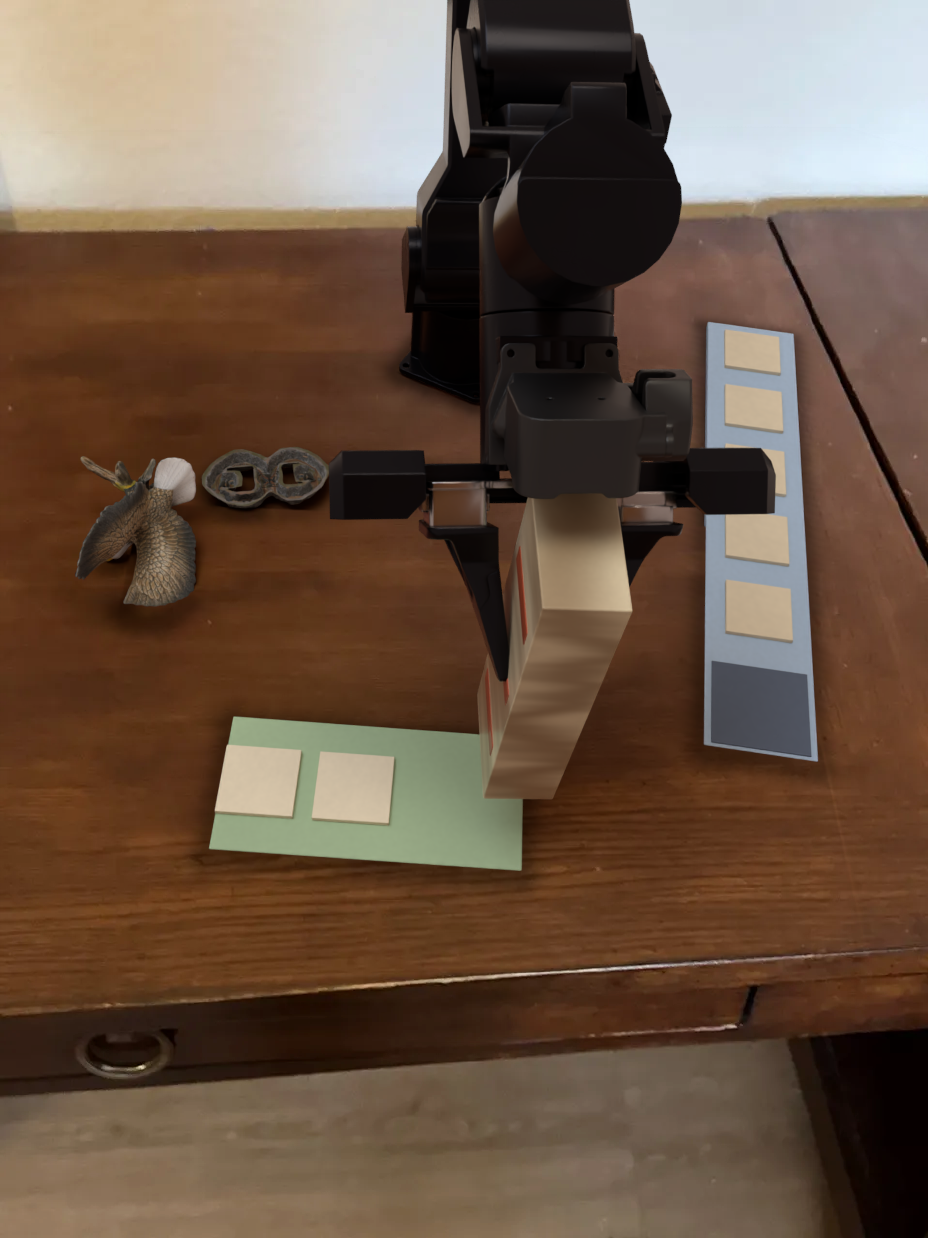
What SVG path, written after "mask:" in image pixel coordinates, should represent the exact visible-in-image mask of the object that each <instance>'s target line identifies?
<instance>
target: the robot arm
mask: <svg viewBox="0 0 928 1238" xmlns="http://www.w3.org/2000/svg"><path fill="white" fill-rule="evenodd" d="M630 2H631V1H630V0H446V23H445V24H446V30H445V59H444V61H445V63H444V64H445V65H444V93H443V94H444V95H443V97H444V99H443V127H442V128H443V132H442V133H443V135H442V137H443V138H442V151H441V153H440V155H439V157H438V158H437V159H436V161H435V163H434V165H433V166H432V168H431V170H430V171H429V173H428V174H427V176H426V177H425V179H424V180H423V182H422V184H421V185H420V187H419V188H418V190H417V194H416V204H415V205H416V208H415V209H416V210H415V226H406V228H405V230H404V233H403V236H402V238H401V264H400V265H401V268H400V269H401V283H402V292H403V293H402V294H403V303H404V305H403V306H404V313H405V314H411V331H410V333H411V334H410V335H411V336H410V351H409V352H408V353H407V354H406V355H405V357H403V358H402V360H401V361H400V362H399V364H398V372H399V373H400V374H402V375H404V376H406V377H409V378H411V379H414V380H416V381H419V382H420V383H423V384H426V385H428V386H431V387H433V388H436V389H438V390H440V391H443V392H445V393H447V394H450V395H452V396H455V397H458V398H460V399H462V400H465V401H467V402H470V403H472V404H479V462H462V463H461V462H460V463H459V462H458V463H454V462H453V463H452V462H451V463H450V462H449V463H448V462H447V463H444V462H443V463H426V460H425V459H426V458H425V450H423V449H383V450H382V449H363V450H362V449H357V450H356V449H355V450H353V449H350V450H349V449H346V450H345V449H344V450H343V449H342V450H340V451H339V452H338V453H337V454H336V455H335V456H334V457H333V458H332V459H331V461H330V462H328V466H329V475H328V495H329V499H328V500H329V520H338V521H340V520H341V521H359V520H361V521H363V520H365V521H366V520H367V521H368V520H408V519H409V518H410V517H411V516H412V515H413V514H414V513H415V512H416V511H417V510H418V511H419V512H421V513H422V514H423V519H419V520H418V532H420V534H422V536H424V537H425V538H426V539H427V540H434V541H444V544H445V545H446V547H447V550H448V551H449V553H450V556H451V558H452V560H453V562H454V564H455V565H456V569H457V570H458V572H459V574H460V576H461V579H462V581H463V583H464V586H465V588H466V591H467V594H468V597H469V599H470V602H471V605H472V608H473V612H474V614H475V616H476V617H475V618H476V620H477V623H478V627H479V629H480V632H481V635H482V638H483V641H484V644H485V647H486V651H487V654H488V653H489V656H490V659H491V662H492V665H493V668H494V672H495V675H496V677H497V679H498V680H499V681H500V682H506V680H507V678H508V666H509V646H508V637H507V629H506V620H505V611H504V603H503V587H502V578H501V569H500V542H499V541H500V529H499V526H497V525H494V524H493V523H490V522H489V521H488V516H487V515H488V514H487V513H488V512H490V505H491V504H526V503H527V499H528V498H534V499H555V498H556V497H557V496H558V495H560V494H603V495H604V496H605V497H607V498H617V503H618V511H619V518H620V525H621V532H622V539H623V546H624V553H625V560H626V567H627V575H628V582H629V589H630V588H631V585H632V584H633V581H634V579H635V578H636V575H637V574H638V571H639V569H640V567H641V565H642V564H643V562H644V561H645V559H646V558H647V556H648V555H649V554H650V553H651V552H652V550H653V548H655V546H656V545H657V543H658V542H659V541H660V540H661V539H662V538H664V537H679V536H681V534H682V532H683V530H684V529H683V528H684V523H681V522H677V521H674V510H676V509H685V508H686V509H688V508H693V509H695V508H696V509H697V510H698V511H700V513H701V514H702V515H704V514H705V515H737V514H772V513H775V488H776V474H775V471H774V468H773V465H772V461H771V460H770V459H769V457H768V456H767V455H766V454H765V452H764V451H763V450H762V449H761V448H705V447H691V444H692V443H691V441H692V435H693V425H694V408H693V404H694V403H693V402H694V401H693V378H692V377H691V376H690V375H689V374H688V372H687V371H686V370H684V369H682V368H641V369H639V370H637V371H636V372H635V376H634V380H633V382H624V381H623V378H622V374H621V372H620V353H619V352H620V351H619V349H618V335H616V336H615V316H614V315H615V291H616V289H617V288H619V287H620V286H622V285H624V284H626V283H628V282H630V281H631V280H633V279H635V278H637V277H640V276H641V275H642V274H644V273H645V272H647V271H648V270H649V269H650V268H652V266H654V265H655V264H656V263H657V262H658V261H660V259H661V258H662V257H663V255H664V254H665V252H666V251H667V249H668V248H669V247H670V245H671V244H672V241H673V239H674V236H675V234H676V231H677V229H678V227H679V225H680V218H681V212H682V206H683V194H682V193H683V192H682V186H681V185H682V184H681V183H680V182H679V179H678V176H677V173H676V170H675V166H674V163H673V162H672V160H671V158H670V156H669V155H668V153H667V152H666V150H665V146H666V144H667V142H668V136H669V131H670V127H671V123H672V122H671V121H672V117H673V114H672V112H671V109H670V106H669V103H668V101H667V99H666V95H665V93H664V90H663V88H662V85H661V84H660V83H661V82H660V81H659V80H660V79H659V78H658V76H657V73H656V70H655V67H654V65H653V64H652V63H651V61H650V57H649V53H648V48H647V43H646V40H645V37H644V36H643V34H641V33H640V32H635V27H634V26H635V25H634V20H633V14H632V8H631V3H630ZM501 472H509V475H510V477H506V478H505V477H503V478H502V477H500V476H501Z"/></svg>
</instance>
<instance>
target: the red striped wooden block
mask: <svg viewBox="0 0 928 1238" xmlns="http://www.w3.org/2000/svg"><path fill="white" fill-rule="evenodd" d="M502 594H503V603H504V611H505V620H506V629H507V637H508V646H509V666H508V678H507V680H506V682H500V681H499V680H498V679H497V677H496V675H495V672H494V668H493V665H492V662H491V659H490V656H489V653H488V652H487V655H486V658H485V662H484V666H483V670H482V674H481V678H480V681H479V685H478V688H477V692H476V694H477V713H478V730H479V731H478V732H479V733H478V734H479V735H480V751H481V769H482V787H483V798H484V799H523V800H553V799H554V797H555V795H556V793H557V790H558V787H559V785H560V783H561V781H562V779H563V775H564V773H565V770H566V769H567V766H568V764H569V762H570V759H571V757H572V755H573V752H574V750H575V748H576V746H577V743H578V741H579V738H580V736H581V733H582V731H583V728H584V727H585V724H586V721H587V719H588V718H589V715H590V712H591V710H592V708H593V705H594V703H595V701H596V698H597V696H598V693H599V691H600V689H601V687H602V684H603V682H604V680H605V677H606V676H607V672H608V670H609V668H610V665H611V663H612V660H613V659H614V657H615V653H616V651H617V648H619V647H618V646H619V645H620V642H621V639H622V637H623V635H624V632H625V630H626V627H627V625H628V624H629V621H630V618H631V616H632V614H633V610H634V609H633V604H632V597H631V590H630V588H629V582H628V575H627V567H626V560H625V553H624V546H623V539H622V532H621V525H620V518H619V511H618V503H617V498H607V497H605V496H604V495H603V494H560V495H558V496H557V497H556V498H555V499H534V498H528V499H527V503H525V507H524V510H523V515H522V519H521V522H520V525H519V531H518V534H517V539H516V542H515V546H514V550H513V553H512V557H511V561H510V566H509V569H508V573H507V577H506V581H505V585H504V588H503V591H502Z"/></svg>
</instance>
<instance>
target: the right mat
mask: <svg viewBox="0 0 928 1238" xmlns="http://www.w3.org/2000/svg"><path fill="white" fill-rule="evenodd" d="M797 387H798V386H797V368H796V351H795V334H794V333H790V332H783V331H777V330H769V329H762V328H754V327H747V326H741V325H734V324H727V323H719V322H712V321H708V322H707V324H706V327H705V405H704V406H705V408H704V409H705V412H704V416H705V417H704V448H761V449H762V450H763V451H764V452H765V454H766V455H767V456H768V457H769V459H770V460H771V461H772V465H773V468H774V471H775V474H776V488H775V513H772V514H737V515H705V514H703V527H705V571H704V573H705V577H704V578H705V582H704V583H705V585H704V587H705V589H704V605H705V606H704V682H703V683H704V684H703V685H704V688H703V689H704V690H703V692H704V693H703V698H704V699H703V745H704V746H708V747H715V748H722V749H730V750H736V751H743V752H748V753H756V754H763V755H768V756H775V757H777V756H778V757H783V758H788V759H789V758H790V759H795V760H803V761H811V762H816V763H817V762H819V754H818V737H817V720H816V703H815V702H816V701H815V685H814V683H815V682H814V667H813V650H812V648H813V647H812V633H811V631H812V630H811V614H810V613H811V612H810V595H809V579H808V562H807V561H808V560H807V544H806V526H805V510H804V493H803V491H804V490H803V475H802V473H803V472H802V458H801V457H802V456H801V441H800V438H801V437H800V425H799V420H800V419H799V406H798V405H799V403H798V388H797Z"/></svg>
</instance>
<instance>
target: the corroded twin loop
mask: <svg viewBox="0 0 928 1238" xmlns="http://www.w3.org/2000/svg"><path fill="white" fill-rule="evenodd" d="M282 468H283V469H291V468H292V470H293V476H294V481H295V482H296V483H292V484H291V483H284V474H283V469H282ZM250 470H253V480H254V488H253V489H252V490H242V491H236V489H237V488H239V487H243V475H242V473H241V472H247V471H250ZM328 478H329V464H328V463H326V461H324V459H323V458H322V457H320V456H319V455H318V454H316V453H314V452H313V451H310V450H309V449H306V448H302V447H299V446H290V447H280V448H278V449H277V450H276V451H275V452H273V453H272V454H271V455H270V456H265V455H263V454H260V453H257V452H254V451H251V450H248V449H244V448H239V449H232V450H230V451H229V452H226V453H225V454H222V455H220V456H219V457H217V458H216V459H215V460H214V461H212V462H211V463H210V464H209V465H208V466H207V467H206V469H205V471H204V472H203V473H202V475H201V485H202V486H203V487H204V489H205V490H206V491H207V492H208V493H209V494H210V495H211V496H213V497H215V499H217V500H219V501H221V502H223V503H225V504H226V505H227V506H228V507H229V508H231V509H232V508H234V509H256V508H258V507H259V506H260V505H262V504H263V503H264V501H265V500H266V499H267V498H269V497H273V498H275V499H277V500H279V501H280V502H285V503H288V505H299V504H301V503H302V502H304V501H305V500H308V499H311V497H313V496H315V494H317V493H318V491H319V490H320V489H322V487H323V486H324V484H325V482H326V481H327V479H328Z"/></svg>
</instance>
